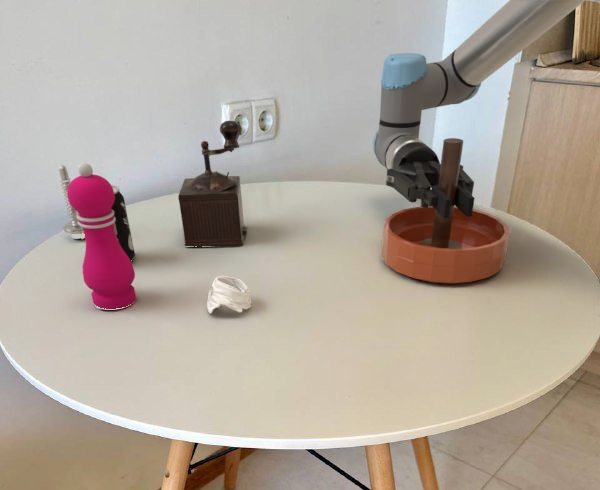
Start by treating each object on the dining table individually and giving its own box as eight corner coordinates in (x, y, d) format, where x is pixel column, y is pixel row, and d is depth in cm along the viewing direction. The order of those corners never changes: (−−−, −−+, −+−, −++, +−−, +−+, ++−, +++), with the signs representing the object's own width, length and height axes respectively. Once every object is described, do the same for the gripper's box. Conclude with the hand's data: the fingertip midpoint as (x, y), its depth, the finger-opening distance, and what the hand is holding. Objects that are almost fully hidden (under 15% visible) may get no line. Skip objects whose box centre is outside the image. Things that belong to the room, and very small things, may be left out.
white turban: (206, 301, 90) (200, 271, 88) (250, 293, 91) (244, 263, 88) (209, 323, 84) (202, 291, 81) (256, 314, 84) (250, 282, 82)
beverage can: (123, 250, 104) (109, 181, 97) (143, 261, 101) (129, 189, 93) (89, 261, 101) (71, 190, 94) (107, 272, 97) (91, 199, 90)
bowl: (528, 272, 95) (536, 236, 91) (425, 297, 88) (430, 259, 85) (453, 231, 109) (458, 199, 105) (360, 251, 102) (362, 216, 99)
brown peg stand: (469, 261, 95) (488, 142, 84) (432, 270, 92) (448, 149, 82) (443, 246, 100) (458, 132, 89) (408, 254, 98) (419, 138, 87)
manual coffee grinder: (246, 246, 105) (238, 138, 94) (184, 248, 105) (169, 140, 94) (248, 216, 117) (241, 117, 106) (192, 217, 117) (180, 119, 106)
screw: (73, 244, 107) (61, 237, 110) (97, 237, 110) (85, 230, 112) (54, 170, 99) (42, 164, 102) (81, 164, 102) (68, 159, 105)
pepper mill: (80, 308, 87) (42, 168, 75) (109, 287, 93) (79, 154, 81) (121, 316, 85) (89, 173, 73) (149, 295, 90) (123, 158, 78)
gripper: (452, 182, 107) (506, 229, 89) (367, 188, 106) (403, 236, 87) (458, 138, 103) (516, 178, 84) (369, 143, 101) (408, 185, 83)
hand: (458, 208), depth 86 cm, fingers closed on brown peg stand, 3 cm apart
